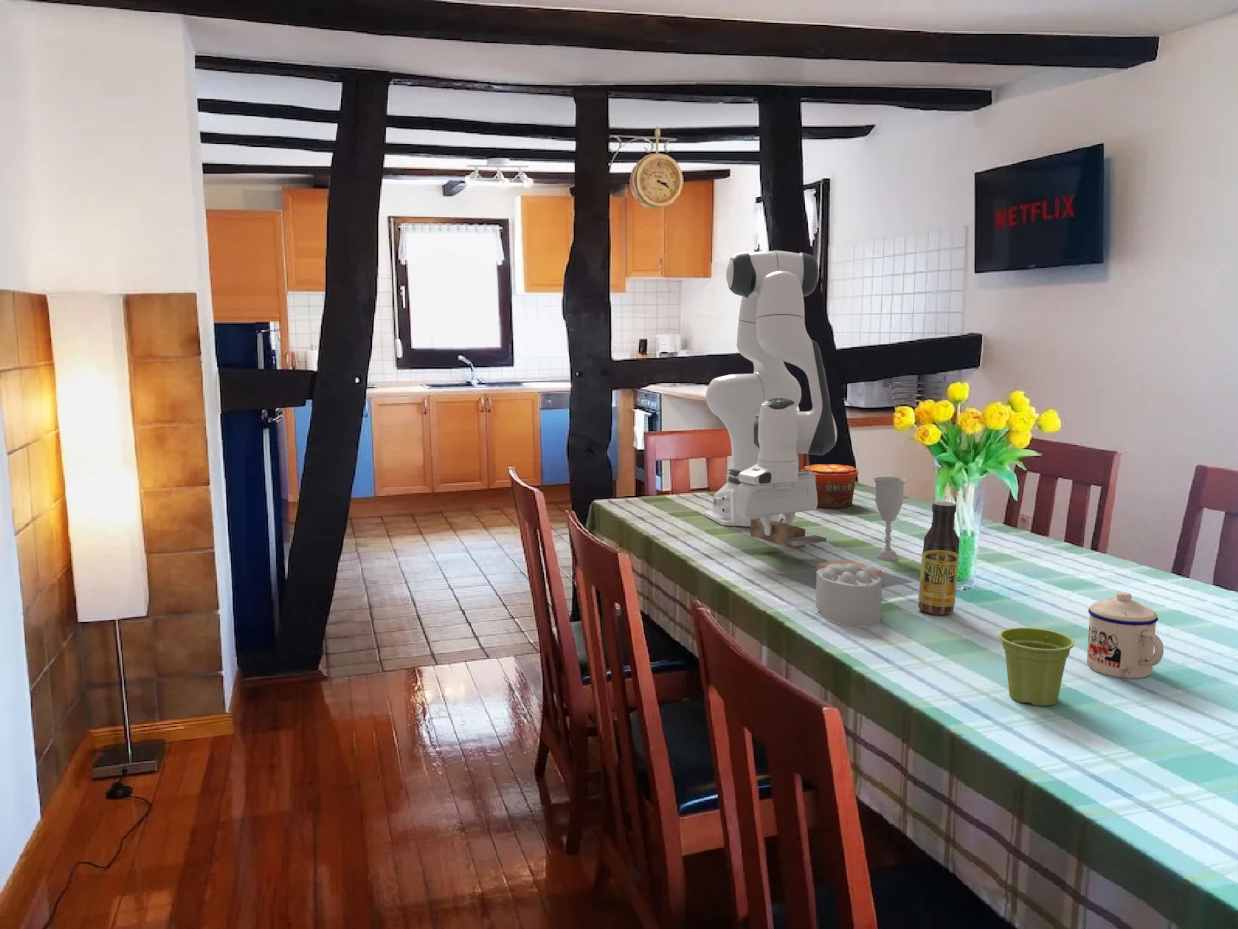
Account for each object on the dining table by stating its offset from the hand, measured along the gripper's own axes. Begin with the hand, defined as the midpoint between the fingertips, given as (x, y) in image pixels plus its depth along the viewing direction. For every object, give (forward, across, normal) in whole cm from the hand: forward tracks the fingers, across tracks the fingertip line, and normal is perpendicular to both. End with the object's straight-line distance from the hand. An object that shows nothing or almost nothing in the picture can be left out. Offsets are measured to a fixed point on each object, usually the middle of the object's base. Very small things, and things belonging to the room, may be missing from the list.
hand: (777, 533), depth 207 cm
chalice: (+6, -19, +15) cm, 24 cm away
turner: (+2, 0, +2) cm, 3 cm away
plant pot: (+6, +18, +81) cm, 84 cm away
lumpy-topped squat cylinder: (+6, +15, +40) cm, 43 cm away
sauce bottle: (+6, 0, +47) cm, 47 cm away
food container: (+5, -50, -42) cm, 66 cm away
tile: (+4, 0, +19) cm, 19 cm away
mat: (+6, 0, +23) cm, 23 cm away
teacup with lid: (+6, -2, +82) cm, 82 cm away
